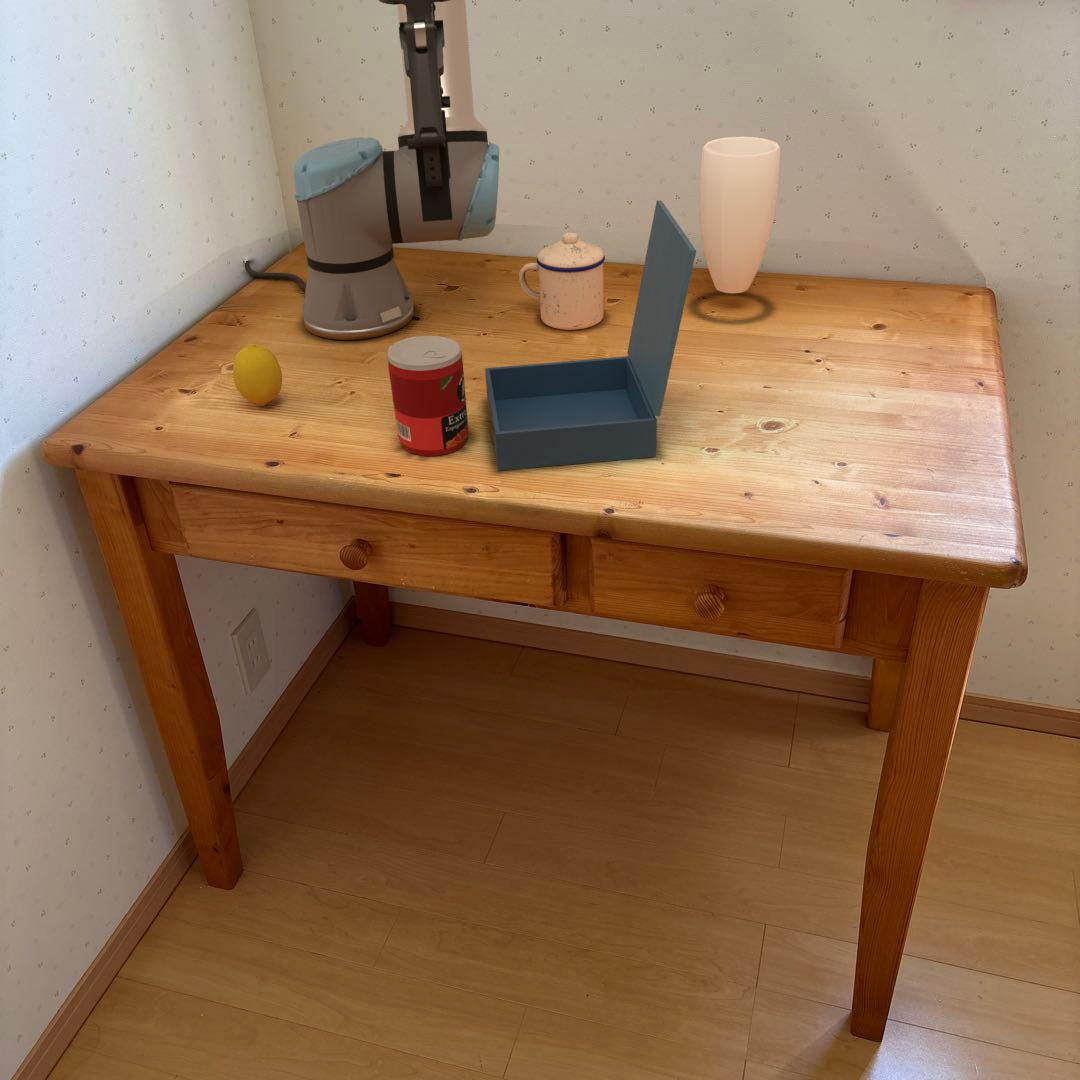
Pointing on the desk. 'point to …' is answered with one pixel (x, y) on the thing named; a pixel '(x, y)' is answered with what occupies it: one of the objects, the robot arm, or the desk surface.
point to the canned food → (428, 394)
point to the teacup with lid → (568, 283)
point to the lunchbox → (569, 413)
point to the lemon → (257, 374)
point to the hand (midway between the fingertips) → (437, 198)
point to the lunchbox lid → (660, 304)
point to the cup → (737, 207)
